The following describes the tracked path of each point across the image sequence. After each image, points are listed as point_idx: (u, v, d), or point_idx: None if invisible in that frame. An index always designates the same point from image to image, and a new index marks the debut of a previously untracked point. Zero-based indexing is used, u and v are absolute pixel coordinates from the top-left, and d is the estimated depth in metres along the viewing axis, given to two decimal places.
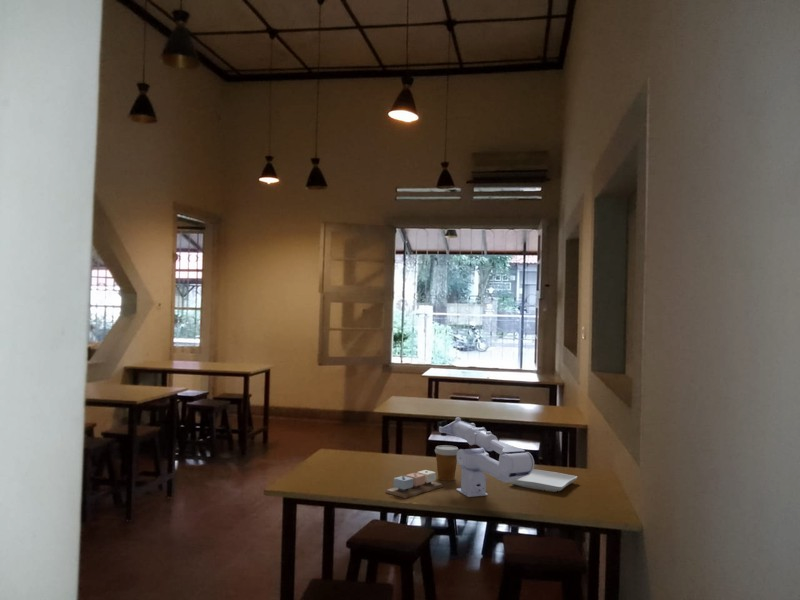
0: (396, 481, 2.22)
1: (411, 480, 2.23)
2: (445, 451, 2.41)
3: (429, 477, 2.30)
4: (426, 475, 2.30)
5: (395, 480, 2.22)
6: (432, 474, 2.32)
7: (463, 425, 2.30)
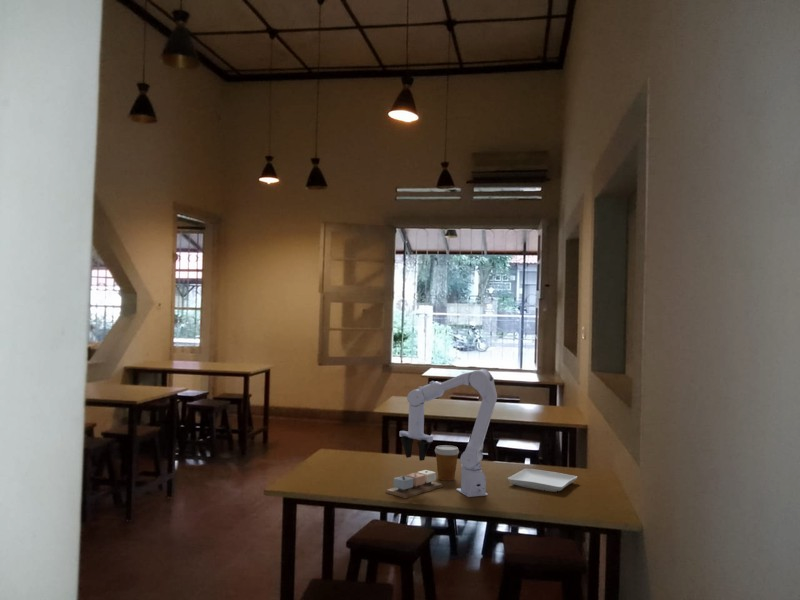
0: (396, 481, 2.22)
1: (411, 480, 2.23)
2: (445, 451, 2.41)
3: (429, 477, 2.30)
4: (426, 475, 2.30)
5: (395, 480, 2.22)
6: (432, 474, 2.32)
7: None
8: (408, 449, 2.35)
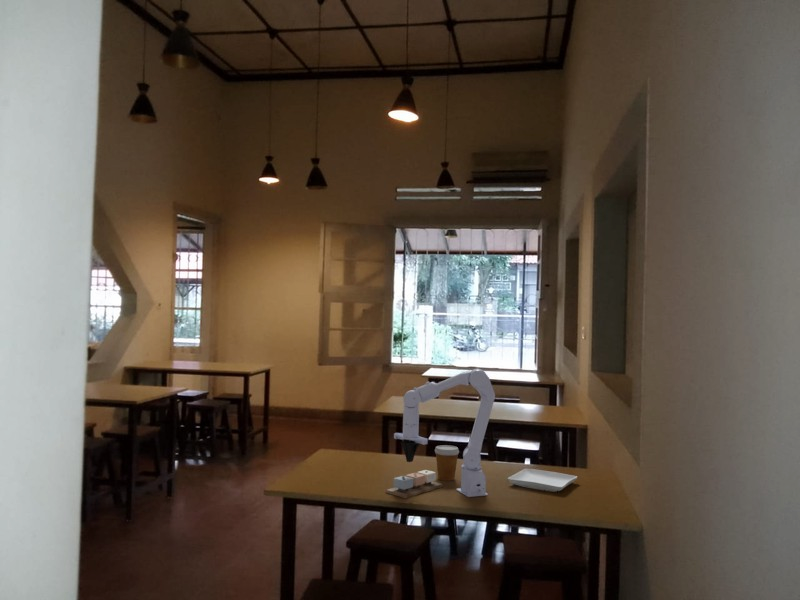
0: (396, 481, 2.22)
1: (411, 480, 2.23)
2: (445, 451, 2.41)
3: (429, 477, 2.30)
4: (426, 475, 2.30)
5: (395, 480, 2.22)
6: (432, 474, 2.32)
7: (404, 419, 2.28)
8: None
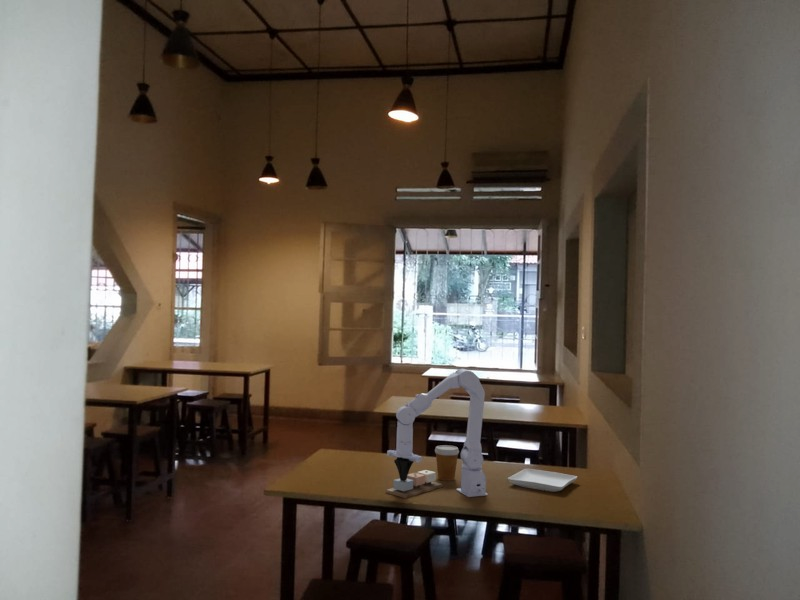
0: (396, 483, 2.22)
1: (411, 482, 2.22)
2: (445, 451, 2.41)
3: (429, 477, 2.30)
4: (426, 475, 2.30)
5: (395, 482, 2.22)
6: (432, 474, 2.32)
7: (398, 436, 2.22)
8: None
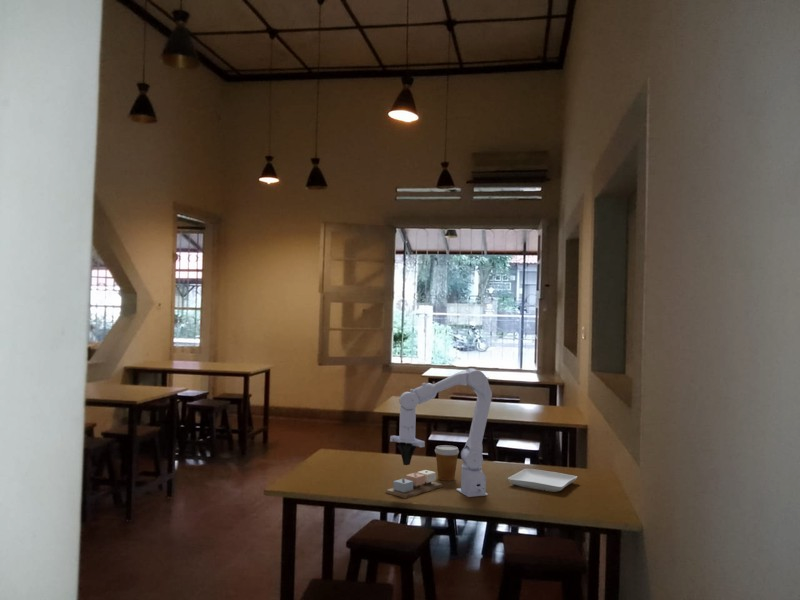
0: (396, 484, 2.22)
1: (411, 483, 2.22)
2: (445, 451, 2.41)
3: (429, 477, 2.30)
4: (426, 475, 2.30)
5: (395, 483, 2.22)
6: (432, 474, 2.32)
7: (401, 421, 2.23)
8: None
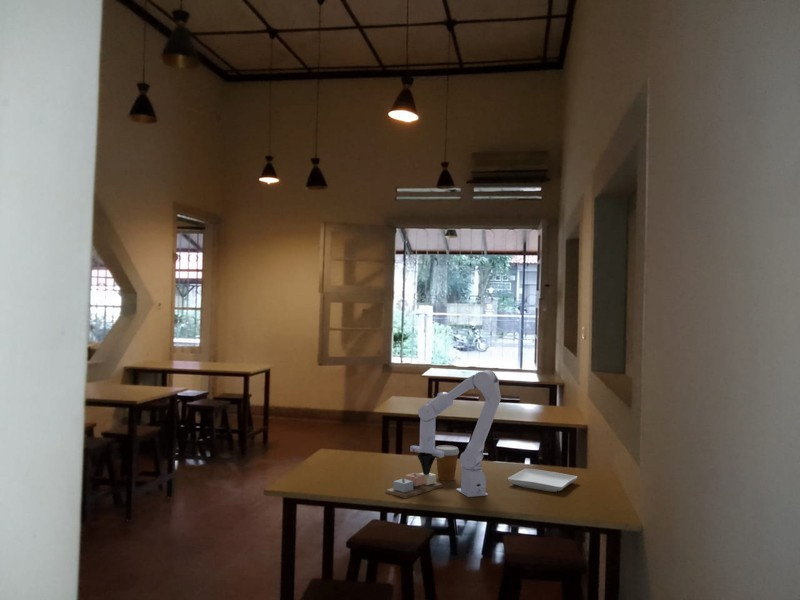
0: (396, 484, 2.22)
1: (411, 483, 2.22)
2: (445, 451, 2.41)
3: (429, 479, 2.30)
4: (426, 477, 2.30)
5: (395, 483, 2.22)
6: (432, 476, 2.32)
7: (420, 431, 2.33)
8: None
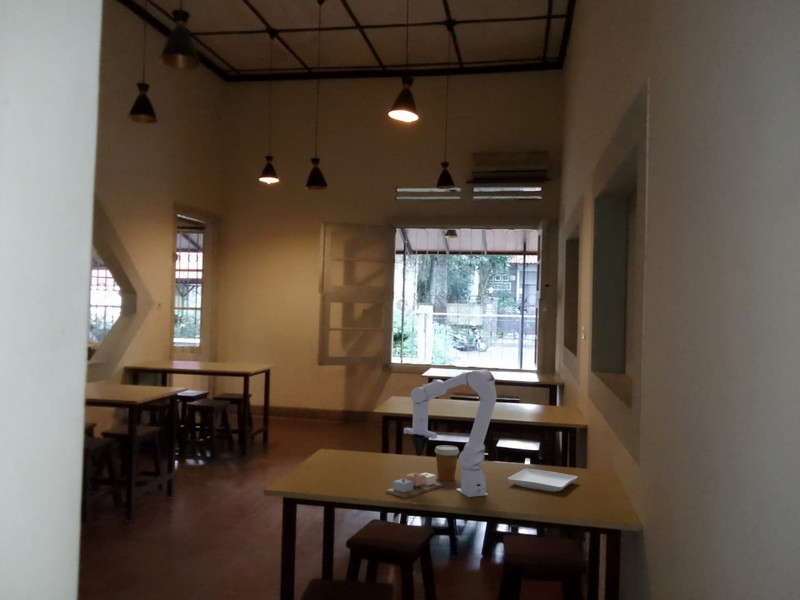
0: (396, 484, 2.22)
1: (411, 483, 2.22)
2: (445, 451, 2.41)
3: (429, 480, 2.30)
4: (426, 478, 2.30)
5: (395, 483, 2.22)
6: (432, 477, 2.32)
7: (413, 413, 2.38)
8: None
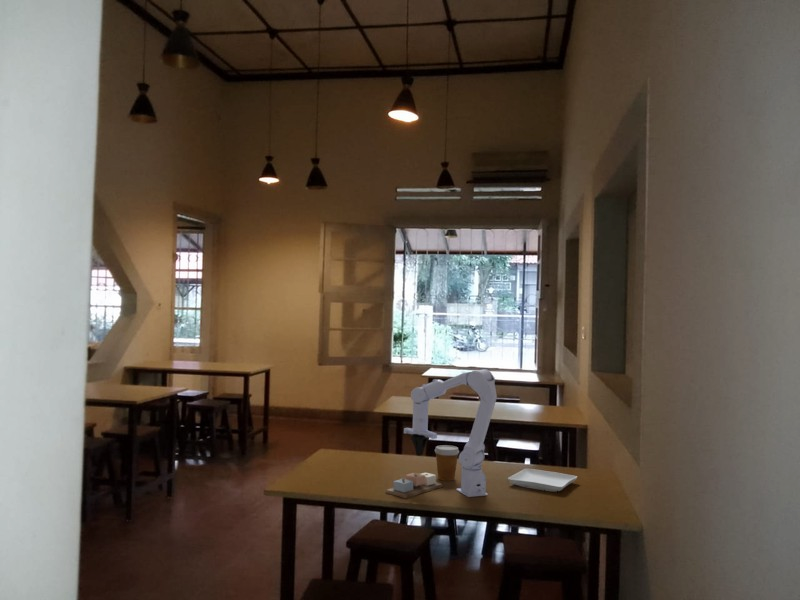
0: (396, 484, 2.22)
1: (411, 483, 2.22)
2: (445, 451, 2.41)
3: (429, 480, 2.30)
4: (426, 478, 2.30)
5: (395, 483, 2.22)
6: (432, 477, 2.32)
7: (413, 413, 2.38)
8: None
